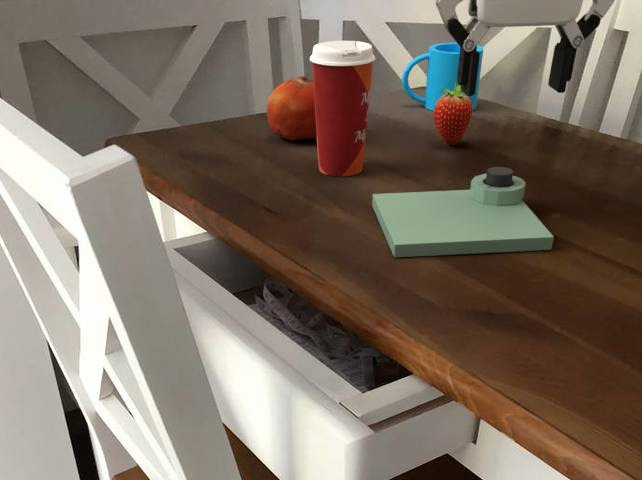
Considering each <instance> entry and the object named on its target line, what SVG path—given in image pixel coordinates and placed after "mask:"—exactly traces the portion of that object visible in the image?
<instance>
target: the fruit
mask: <svg viewBox="0 0 642 480" xmlns="http://www.w3.org/2000/svg"><path fill="white" fill-rule="evenodd" d="M443 90H444V91H446V92H448V93H444V94H445V95H443V96H442V97H441V98H440V99H439V100H438V101H437V103H436V105H435V108H434V111H433V115H432V116H433V123H434V126H435V128H436V130H437V132H438V135H439V136H440V138H441V140H442V141H443V142H444V143H445V144H447V145H449V146H456V145H457V144H459V142H460V141H462V139H463V138H464V135H465V134H466V131H467V128H468V127H469V125H470V122H471V120H472V117H473V111H474V110H473V106H472V102H471V100H470V99H469V97H468V96H466V94H465V93H460V92H459V91H461V85H458V86H457V87H456V82H455V88H454V91H450V90H448V89H446V88H445V87H444V86H443ZM438 92H439V91H438ZM441 93H443V92H441ZM464 94H465V95H464Z"/></svg>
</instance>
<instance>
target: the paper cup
mask: <svg viewBox="0 0 642 480" xmlns="http://www.w3.org/2000/svg"><path fill="white" fill-rule="evenodd" d="M376 60H377V59H376V56H375V54H374V51H373V46H372V44H370V43H368V42H364V41H359V40H330V41H323V42H319V43H316V44H314V45H313V47H312V54H311V55H310V57H309V61H310V62H311V63H312V76H313V78H312V79H313V81H314V99H315V116H316V133H317V137H316V147H317V160H318V161H317V163H318V169H319V172H320V173H321V174H323V175H325V176H331V177H343V178H344V177H351V176H355V175H359V174H361V173H362V171H363V169H364V161H365V152H366V151H365V150H366V140H367V130H368V118H369V109H370V108H369V107H370V98H371V97H370V96H371V86H372V73H373V62H374V61H376Z"/></svg>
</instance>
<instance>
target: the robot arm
mask: <svg viewBox="0 0 642 480" xmlns="http://www.w3.org/2000/svg"><path fill="white" fill-rule="evenodd" d="M463 1H464V0H435V6H436V9H437V11H438V14H439V15H440V18H441V20H442V22H443V24H444V25H443V26H444V28H445V30H446V31H447V32H448V34H449V35H450V36H451V37H452V39H453V40H454V41H455V43H457V44H458V45H459V46H460V54H459V64H458V73H457V83H458V85H461V90H462V91H463V92H464V93H465V94H466V95H467V96H473V95H474V94H475V91H476V83H477V74H478V66H479V58H480V53H479V52H478V51H476V49H477V45H478V44H479V43H480V42H481V40H482V39H483V38H484V36H486V34H487V33H488V31H489V30H491V28H511V27H513V28H515V27H544V26H554V27H555V29H556V30H557V33H558V35H559V37H560V40H559V42H556V44H555V45H554V48H553V53H552V60H551V64H550V65H551V66H550V69H549V70H550V72H549V75H548V76H549V77H548V81H547V82H548V83H547V85H548V86H549V87H550V89H553V90H554V91H555V92H557V93H558V94H561V93H562V94H563V93H564V94H565V92H566V89H567V84H568V83H569V82H570V81H571V80H572V76H573V72H574V66H575V60H576V57H577V50H578V49H580V48H581V47H582V46H583V44H584V41H585V40H586V39H587V38H588V37H589V36H590V35H591V34H592V33H593V32H594V31H595V30H596V29H598V28H599V26H600V24H601V20H602V19H603V18H604V17H605V16H606V14H607V13H608V11H609V10H610V9H611V7H612V6H613V5H614V3H615V1H616V0H592V3H591V6H589V10H588V11H587V12H586V13H585V14H584V15H582V17H580V18H579V20H578V21H576V19H577V18H578V17H579V15H580V13H581V10H582V7H583V4H584V3H583V2H584V0H467V4H466V5H467V9H466V10H467V13H468V15H469V16H470V17H471V18H470V19H469V20H468V22H467V23H466V25H465V26H464V25H463V24H462V22H461V21H460V20H459V18H458V15H457V12H456V7H457V6H458V5H459V4H460V3H462V2H463Z"/></svg>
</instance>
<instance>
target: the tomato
mask: <svg viewBox="0 0 642 480" xmlns="http://www.w3.org/2000/svg"><path fill="white" fill-rule="evenodd" d="M285 80H286V81H284V82H283V83H281V84H279V85H277V87H275V88H274V90H273V91H272V93H271V94H270V95H269V97H268V99H267V104H266V115H267V121H268V124H269V127H270V129H271V131H272V132H273V133H274V134H275V135H276V136H278V137H280V138H283V139H286V140H289V141H299V140H311V139H312V140H313V139H315V138H316V139H317V133H316V116H315V99H314V81H313V80H312V79H309V78H308V77H306V76H304V75H302V76H301V75H299V76H297V77H295V78H291V77H290V78H287V79H285Z"/></svg>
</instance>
